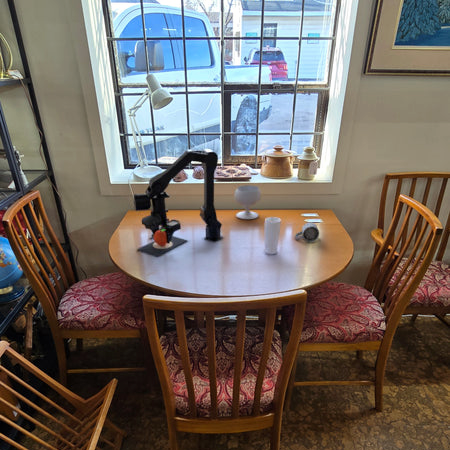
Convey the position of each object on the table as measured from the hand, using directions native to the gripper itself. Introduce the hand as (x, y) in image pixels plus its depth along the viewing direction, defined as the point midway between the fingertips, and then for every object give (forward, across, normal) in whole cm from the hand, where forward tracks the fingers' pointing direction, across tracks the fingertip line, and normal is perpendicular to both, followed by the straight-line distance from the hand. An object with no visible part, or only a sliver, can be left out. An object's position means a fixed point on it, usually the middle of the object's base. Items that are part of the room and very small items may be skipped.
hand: (162, 241), depth 168 cm
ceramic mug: (+2, +51, +44) cm, 67 cm away
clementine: (+2, 0, 0) cm, 2 cm away
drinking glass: (+2, +44, +22) cm, 49 cm away
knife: (+2, -12, +14) cm, 19 cm away
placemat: (+2, 0, 0) cm, 2 cm away
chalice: (+2, +11, +55) cm, 56 cm away
